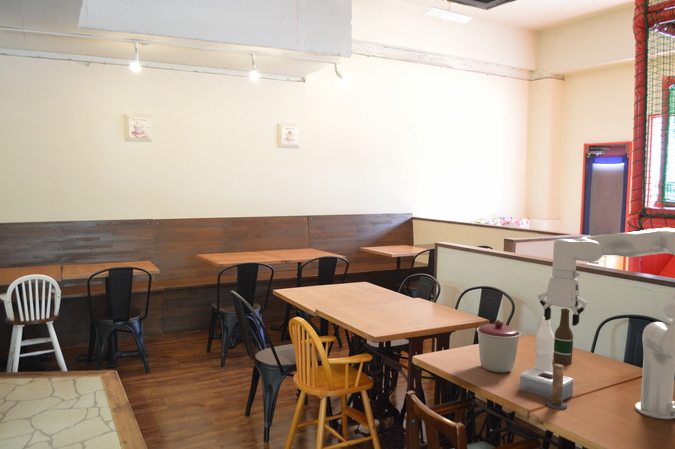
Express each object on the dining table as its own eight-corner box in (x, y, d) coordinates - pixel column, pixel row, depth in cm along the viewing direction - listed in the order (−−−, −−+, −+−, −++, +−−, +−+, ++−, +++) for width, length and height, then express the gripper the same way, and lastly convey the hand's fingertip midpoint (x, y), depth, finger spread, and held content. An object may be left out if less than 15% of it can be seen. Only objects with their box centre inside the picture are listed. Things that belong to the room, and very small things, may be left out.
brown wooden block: (563, 404, 193) (565, 365, 192) (559, 406, 191) (561, 368, 190) (553, 401, 196) (555, 363, 194) (549, 403, 193) (551, 365, 192)
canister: (475, 360, 242) (477, 313, 240) (517, 364, 237) (520, 317, 235) (474, 373, 224) (476, 323, 223) (520, 378, 220) (522, 327, 218)
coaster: (570, 405, 193) (570, 404, 193) (562, 411, 188) (562, 409, 188) (551, 400, 198) (551, 398, 198) (542, 405, 193) (542, 403, 193)
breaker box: (572, 395, 203) (573, 378, 203) (561, 402, 196) (562, 385, 196) (531, 383, 214) (532, 367, 214) (519, 389, 207) (520, 373, 207)
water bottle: (553, 381, 217) (557, 320, 215) (535, 379, 219) (538, 319, 217) (550, 375, 224) (553, 316, 222) (532, 373, 226) (535, 314, 224)
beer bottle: (573, 361, 243) (576, 308, 241) (570, 366, 236) (573, 312, 234) (554, 357, 247) (557, 306, 245) (551, 362, 241) (554, 309, 239)
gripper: (593, 276, 186) (590, 325, 187) (544, 270, 198) (542, 316, 200) (584, 279, 181) (581, 329, 182) (535, 272, 193) (532, 319, 194)
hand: (561, 322), depth 191 cm, fingers open, 9 cm apart
